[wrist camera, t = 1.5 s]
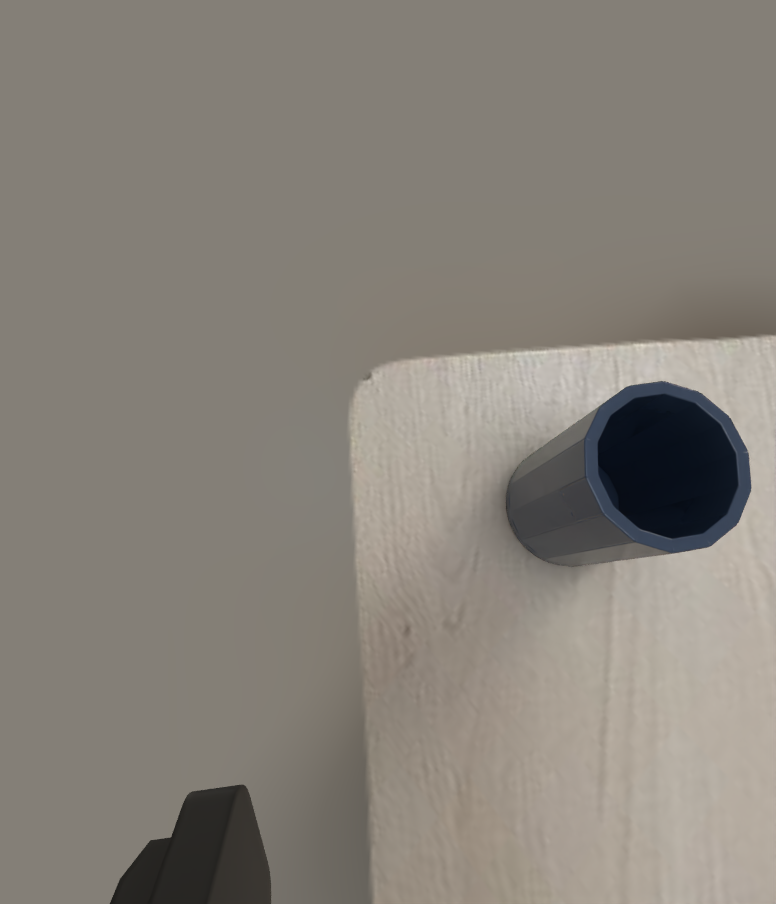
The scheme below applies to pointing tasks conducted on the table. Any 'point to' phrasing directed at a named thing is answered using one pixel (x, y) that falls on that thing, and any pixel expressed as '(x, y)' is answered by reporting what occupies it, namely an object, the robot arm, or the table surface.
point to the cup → (632, 480)
